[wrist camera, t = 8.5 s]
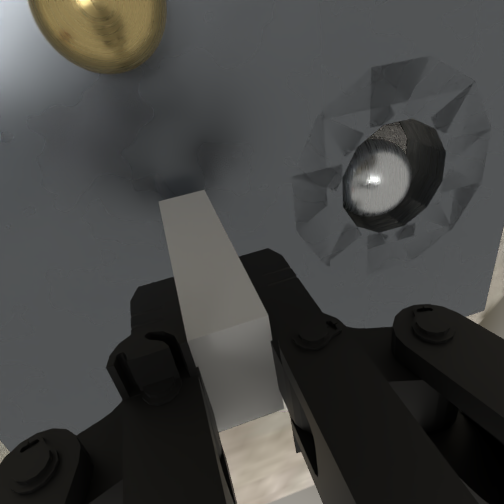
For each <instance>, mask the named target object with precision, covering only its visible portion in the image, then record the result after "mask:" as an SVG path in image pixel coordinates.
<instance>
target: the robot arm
mask: <svg viewBox="0 0 504 504" xmlns="http://www.w3.org/2000/svg"><path fill="white" fill-rule="evenodd" d="M158 202H159V207H160V211H161V216H162V221H163V226H164V231H165V236H166V241H167V245H168V250H169V255H170V260H171V265H172V270H173V274H174V277H170V278H167V279H164V280H160V281H157V282H153V283H150V284H146V285H143V286H139V287H138V288H137V290H136V291H135V293H134V295H133V297H132V299H131V301H130V314H131V329H132V330H131V335H130V336H128V337H127V338H126V339H124V340H123V341H122V342H120V343H119V344H118V345H117V346H116V348H115V349H114V350H113V352H112V353H111V354H110V356H109V359H108V362H107V366H106V369H107V371H108V373H109V375H110V377H111V379H112V381H113V383H114V384H115V386H116V388H117V390H118V392H119V394H120V396H121V398H122V401H121V403H120V404H119V405H118V406H117V407H116V408H115V409H114V410H113V411H112V412H111V413H109V414H108V415H107V416H105V417H104V418H103V419H101V420H100V421H98V422H97V423H95V424H93V425H92V426H90V427H89V428H87V429H86V430H84V431H82V432H81V433H79V434H78V435H75V434H73V433H72V432H70V431H69V430H67V429H58V428H52V429H49V430H45V431H42V432H39V433H36V434H34V435H33V436H31V437H29V438H28V439H26V440H24V441H23V442H21V443H20V444H19V445H17V446H16V447H15V448H14V449H13V450H12V451H11V452H10V453H9V454H8V455H7V456H6V457H5V458H4V459H3V461H2V462H1V464H0V504H237V501H236V497H235V493H234V489H233V485H232V481H231V477H230V472H229V468H228V464H227V460H226V457H225V454H224V451H223V448H222V445H221V441H220V437H219V432H221V431H224V430H227V429H230V428H232V427H235V426H238V425H241V424H243V423H246V422H249V421H252V420H255V419H257V418H260V417H263V416H266V415H268V414H271V413H274V412H277V411H279V410H282V409H284V404H283V400H284V402H285V405H286V407H287V409H288V412H289V414H290V418H291V424H292V430H293V436H294V442H295V448H296V453H299V452H302V454H303V457H304V459H305V462H306V464H307V466H308V469H309V471H310V474H311V476H312V478H313V481H314V483H315V485H316V488H317V490H318V493H319V495H320V497H321V500H322V502H323V504H504V339H502V338H501V337H499V336H497V335H495V334H494V333H492V332H490V331H488V330H487V329H485V328H483V327H482V326H480V325H478V324H476V323H475V322H473V321H471V320H470V319H468V318H466V317H464V316H463V315H461V314H459V313H457V312H455V311H453V310H450V309H448V308H446V307H443V306H438V305H432V304H419V305H412V306H410V307H407V308H404V309H402V310H401V311H400V312H399V313H398V314H397V315H396V316H395V318H394V322H393V326H392V327H379V328H352V327H347V326H345V325H344V324H343V323H342V322H341V321H340V320H339V319H337V318H336V317H333V316H330V315H328V314H325V313H323V312H322V311H321V309H320V308H319V307H318V305H317V304H316V302H315V301H314V299H313V298H312V297H311V295H310V294H309V292H308V291H307V290H306V288H305V287H304V285H303V284H302V283H301V281H300V280H299V278H297V276H296V274H295V273H294V271H293V270H292V268H290V266H289V264H288V263H287V261H286V260H285V258H284V257H283V256H282V255H281V254H279V253H277V252H275V251H273V250H271V249H269V248H266V249H263V250H259V251H256V252H252V253H249V254H245V255H242V256H239V257H238V255H237V253H236V251H235V249H234V247H233V245H232V243H231V241H230V239H229V237H228V235H227V233H226V231H225V229H224V227H223V225H222V223H221V221H220V220H219V218H218V216H217V214H216V212H215V210H214V208H213V206H212V204H211V202H210V200H209V198H208V196H207V194H206V192H205V190H201V191H197V192H193V193H190V194H186V195H182V196H178V197H174V198H170V199H166V200H162V201H158Z"/></svg>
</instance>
